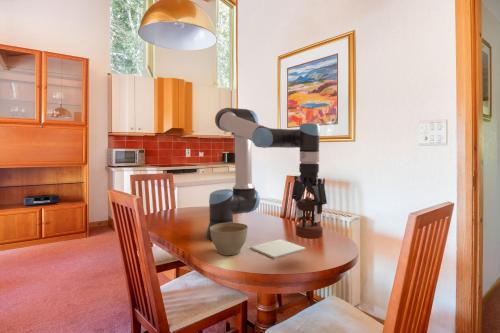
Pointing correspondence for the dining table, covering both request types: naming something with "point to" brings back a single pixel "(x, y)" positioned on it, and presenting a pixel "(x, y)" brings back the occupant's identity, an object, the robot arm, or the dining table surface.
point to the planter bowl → (229, 237)
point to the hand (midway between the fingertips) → (308, 219)
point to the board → (277, 248)
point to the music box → (308, 219)
